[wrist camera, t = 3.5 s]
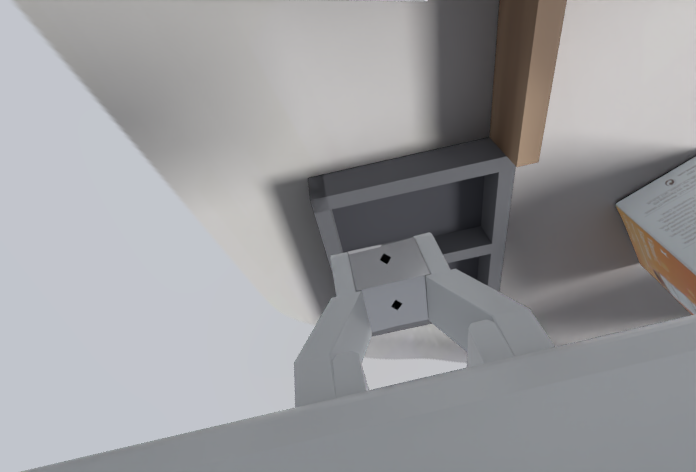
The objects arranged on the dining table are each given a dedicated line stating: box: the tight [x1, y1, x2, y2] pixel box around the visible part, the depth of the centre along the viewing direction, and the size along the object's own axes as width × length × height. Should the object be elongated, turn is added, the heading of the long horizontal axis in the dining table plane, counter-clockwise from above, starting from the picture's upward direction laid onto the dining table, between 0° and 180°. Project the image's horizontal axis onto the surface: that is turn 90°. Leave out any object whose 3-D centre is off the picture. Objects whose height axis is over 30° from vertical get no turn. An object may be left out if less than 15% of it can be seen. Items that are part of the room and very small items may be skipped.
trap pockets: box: [308, 137, 516, 337], centre depth 23 cm, size 10×12×2 cm
